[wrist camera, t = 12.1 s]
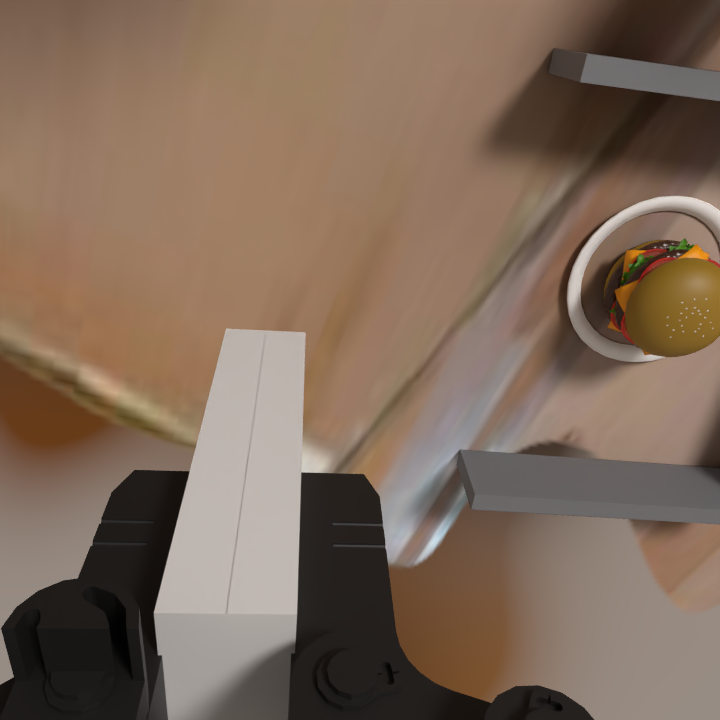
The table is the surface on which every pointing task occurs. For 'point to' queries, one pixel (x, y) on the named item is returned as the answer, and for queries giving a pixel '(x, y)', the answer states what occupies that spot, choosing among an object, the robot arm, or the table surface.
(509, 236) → the table surface
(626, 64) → the box
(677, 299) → the hamburger
